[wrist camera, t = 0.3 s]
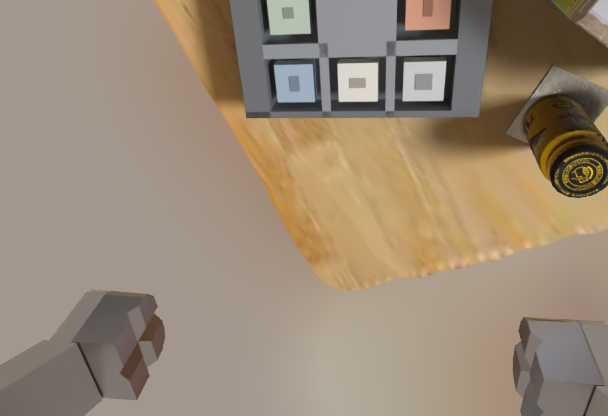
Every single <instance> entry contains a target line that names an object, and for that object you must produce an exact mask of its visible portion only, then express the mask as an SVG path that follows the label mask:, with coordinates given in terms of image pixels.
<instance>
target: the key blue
mask: <svg viewBox="0 0 608 416" xmlns="http://www.w3.org/2000/svg"><path fill="white" fill-rule="evenodd" d="M274 72H275V81H276V90H277V100H278V102H315V101H316V98H317V88H316V72H315V60H279V61H276V63H275V64H274Z"/></svg>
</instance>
